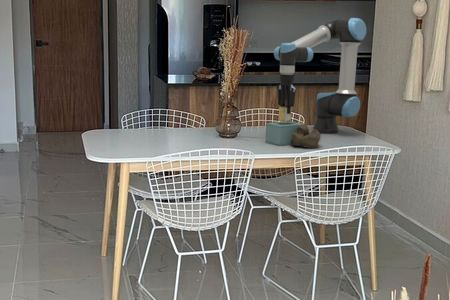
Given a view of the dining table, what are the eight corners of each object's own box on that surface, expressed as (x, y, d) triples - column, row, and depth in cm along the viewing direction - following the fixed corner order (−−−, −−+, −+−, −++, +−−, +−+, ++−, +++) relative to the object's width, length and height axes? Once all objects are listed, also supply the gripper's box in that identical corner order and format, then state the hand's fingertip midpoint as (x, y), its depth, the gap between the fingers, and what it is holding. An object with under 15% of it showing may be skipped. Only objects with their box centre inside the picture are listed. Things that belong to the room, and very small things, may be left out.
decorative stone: (305, 139, 287) (287, 123, 297) (299, 158, 292) (282, 142, 303) (330, 134, 295) (312, 120, 305) (324, 153, 300) (307, 138, 311)
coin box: (289, 139, 318) (290, 121, 316) (304, 143, 308) (304, 124, 306) (265, 142, 309) (265, 123, 307) (279, 145, 299) (280, 126, 297)
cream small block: (287, 120, 309) (288, 106, 307) (290, 120, 307) (291, 107, 305) (278, 120, 306) (279, 107, 304) (281, 121, 303) (282, 107, 302)
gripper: (271, 73, 306) (270, 118, 311) (291, 74, 293) (289, 122, 298) (283, 72, 310) (281, 117, 315) (302, 74, 297) (300, 121, 302)
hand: (285, 119), depth 306 cm, fingers closed on cream small block, 3 cm apart
